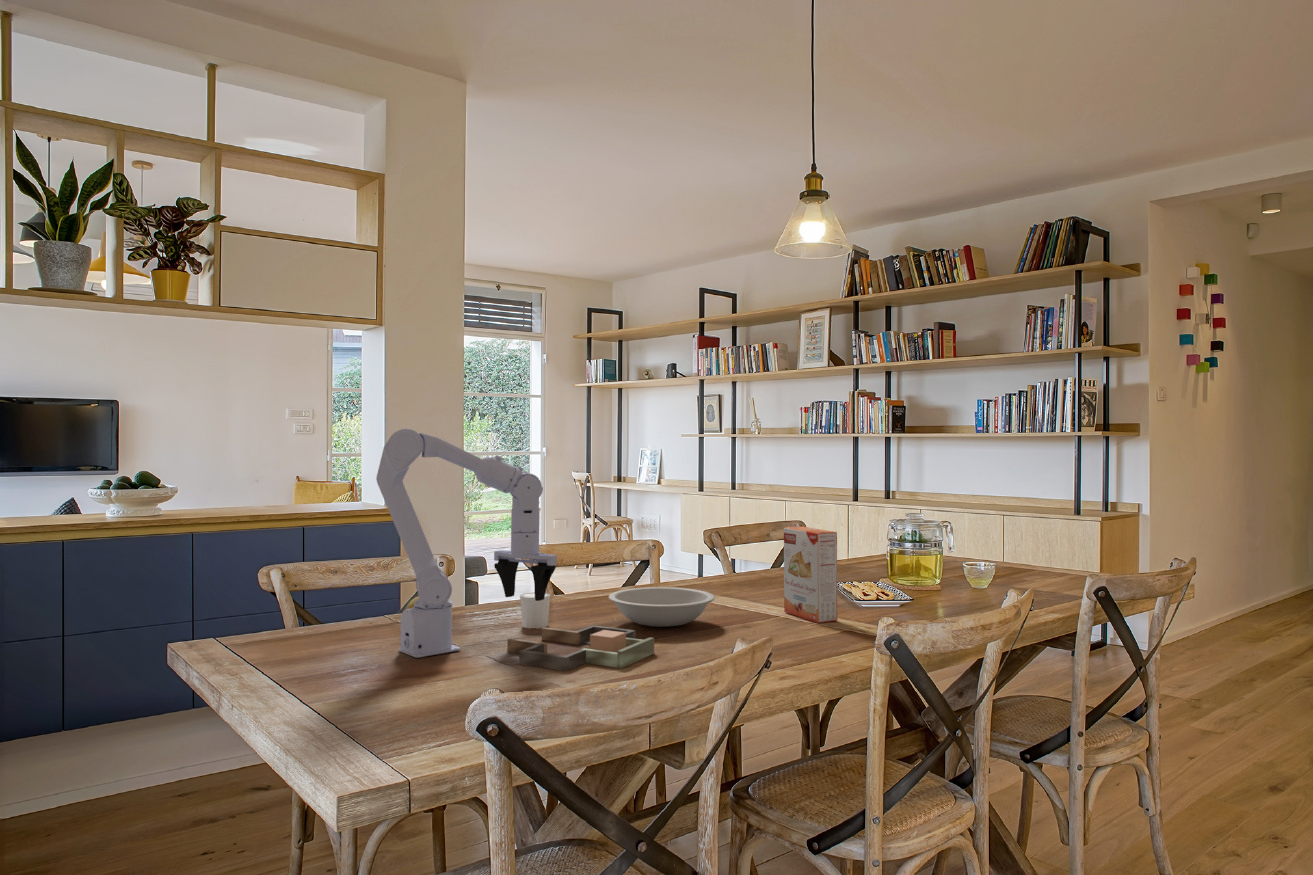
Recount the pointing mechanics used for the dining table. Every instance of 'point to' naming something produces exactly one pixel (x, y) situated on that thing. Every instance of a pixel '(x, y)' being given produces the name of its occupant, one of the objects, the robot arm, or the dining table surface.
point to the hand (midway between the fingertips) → (524, 598)
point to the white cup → (534, 611)
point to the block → (608, 641)
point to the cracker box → (810, 573)
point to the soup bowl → (661, 605)
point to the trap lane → (539, 657)
